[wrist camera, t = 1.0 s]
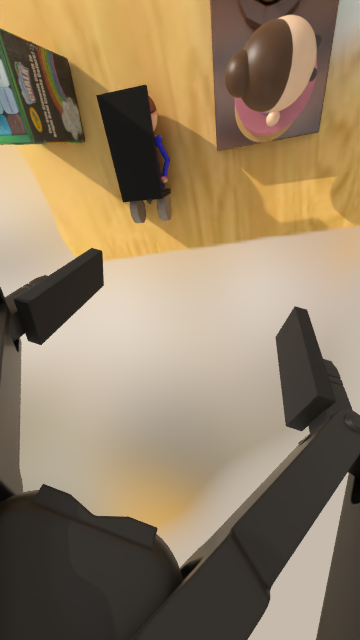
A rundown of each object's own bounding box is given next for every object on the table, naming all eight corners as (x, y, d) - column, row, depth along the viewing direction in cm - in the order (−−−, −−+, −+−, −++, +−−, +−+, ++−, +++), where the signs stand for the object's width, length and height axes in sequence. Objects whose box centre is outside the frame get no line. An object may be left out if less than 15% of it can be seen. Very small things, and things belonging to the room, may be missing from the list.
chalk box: (11, 61, 32) (-124, 15, 20) (68, 55, 30) (-45, 1, 19) (37, 145, 37) (-57, 146, 26) (87, 144, 36) (9, 144, 24)
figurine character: (181, 209, 39) (164, 84, 29) (169, 226, 34) (143, 81, 24) (145, 212, 41) (117, 96, 31) (129, 229, 36) (88, 96, 26)
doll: (235, 147, 28) (220, 150, 15) (234, 66, 24) (213, -24, 11) (297, 136, 26) (341, 127, 13) (308, 45, 22) (385, -93, 9)
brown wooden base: (210, -47, 23) (204, -72, 20) (351, -108, 19) (367, -149, 17) (218, 150, 32) (215, 151, 29) (315, 132, 29) (321, 131, 26)
